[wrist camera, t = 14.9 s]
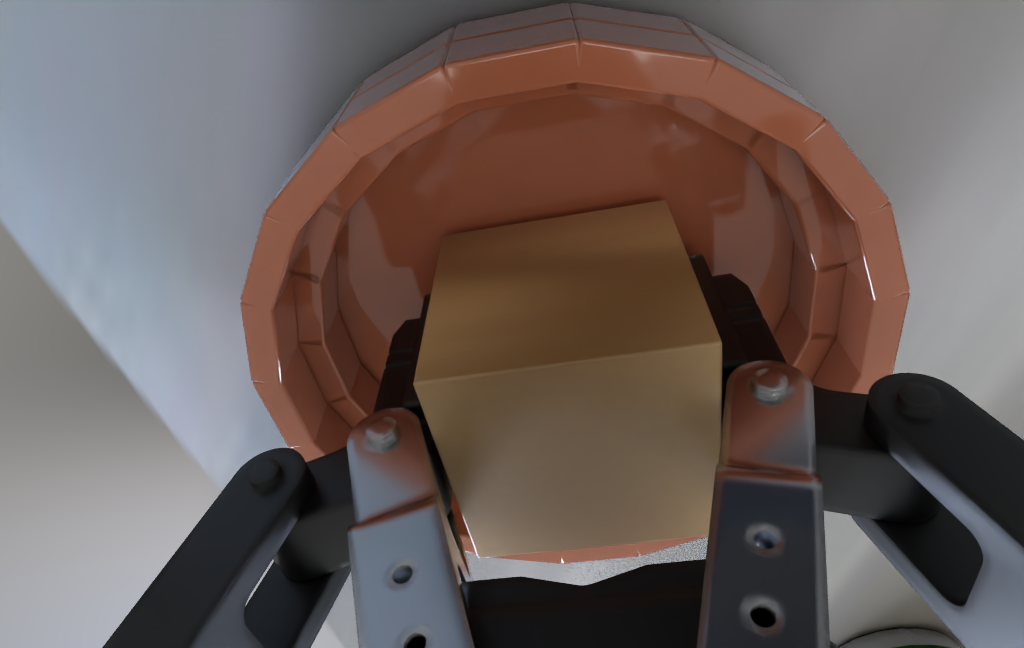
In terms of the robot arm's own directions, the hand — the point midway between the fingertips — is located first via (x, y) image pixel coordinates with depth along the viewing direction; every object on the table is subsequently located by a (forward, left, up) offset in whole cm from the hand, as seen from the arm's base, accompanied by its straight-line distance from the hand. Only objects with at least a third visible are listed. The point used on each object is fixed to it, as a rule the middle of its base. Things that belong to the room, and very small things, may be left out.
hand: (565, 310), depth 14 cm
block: (0, 0, 0) cm, 0 cm away
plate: (0, 0, -1) cm, 1 cm away
